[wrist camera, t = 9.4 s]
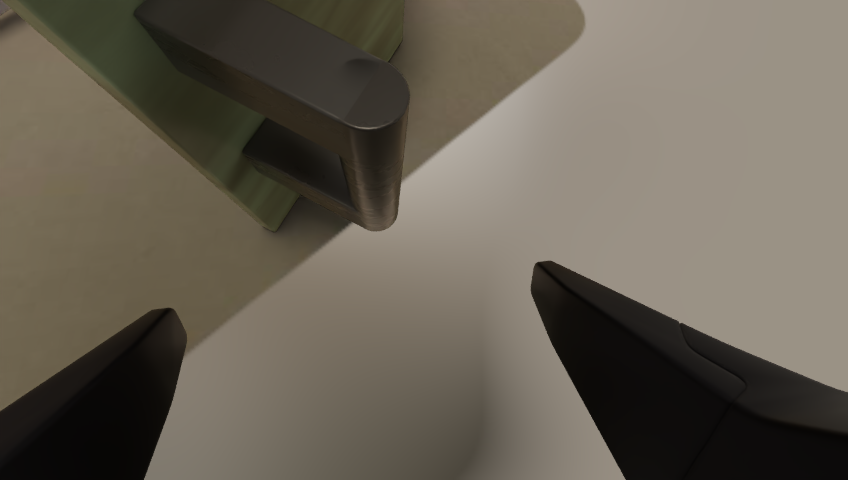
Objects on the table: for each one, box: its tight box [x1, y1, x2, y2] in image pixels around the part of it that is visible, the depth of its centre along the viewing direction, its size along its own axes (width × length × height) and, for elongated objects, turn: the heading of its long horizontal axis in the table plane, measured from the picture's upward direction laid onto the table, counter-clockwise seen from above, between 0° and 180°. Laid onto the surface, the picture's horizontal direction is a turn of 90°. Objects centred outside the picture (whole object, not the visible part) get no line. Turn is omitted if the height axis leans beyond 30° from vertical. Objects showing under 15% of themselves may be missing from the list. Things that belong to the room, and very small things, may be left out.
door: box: [2, 0, 410, 232], centre depth 13 cm, size 6×13×14 cm, turn 153°
